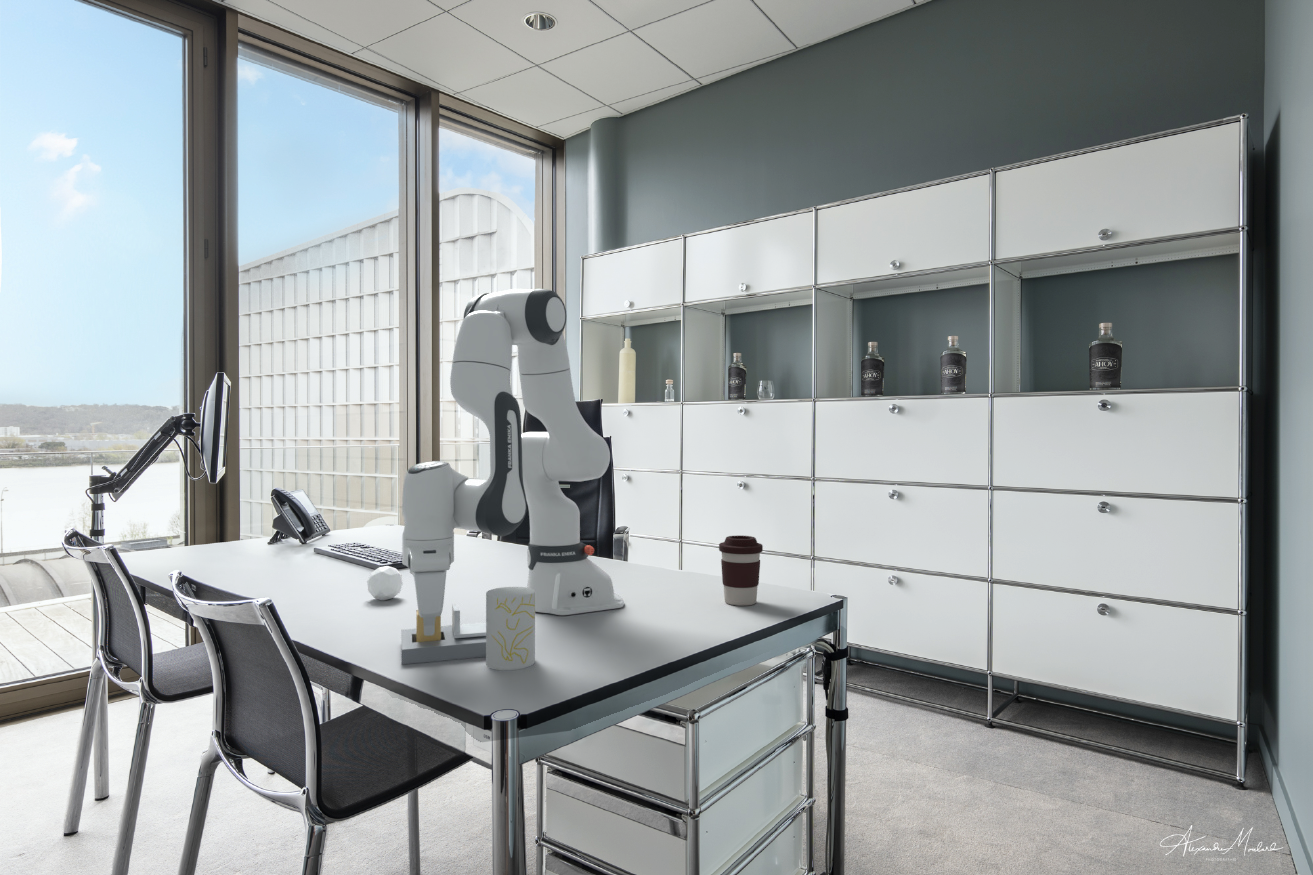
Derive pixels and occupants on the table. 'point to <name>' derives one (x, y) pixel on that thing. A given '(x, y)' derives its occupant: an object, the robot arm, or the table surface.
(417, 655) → the socket board
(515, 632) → the cup
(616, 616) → the table surface
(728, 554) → the coffee cup
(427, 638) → the plug
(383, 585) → the geometric ball
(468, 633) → the white l-shaped bracket
